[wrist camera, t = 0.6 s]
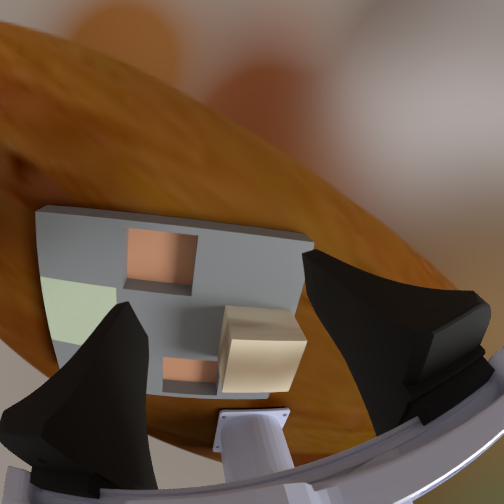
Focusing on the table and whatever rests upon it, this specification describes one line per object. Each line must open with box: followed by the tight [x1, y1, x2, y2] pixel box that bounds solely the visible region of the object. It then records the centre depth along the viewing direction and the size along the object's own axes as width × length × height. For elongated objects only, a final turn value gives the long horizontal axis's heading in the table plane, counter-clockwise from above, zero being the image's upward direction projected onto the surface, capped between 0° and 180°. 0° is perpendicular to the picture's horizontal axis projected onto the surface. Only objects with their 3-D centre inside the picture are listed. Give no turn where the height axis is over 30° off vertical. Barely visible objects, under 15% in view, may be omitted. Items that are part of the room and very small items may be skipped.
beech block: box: [217, 305, 307, 393], centre depth 20 cm, size 5×5×4 cm
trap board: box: [35, 205, 315, 399], centre depth 21 cm, size 16×20×2 cm
